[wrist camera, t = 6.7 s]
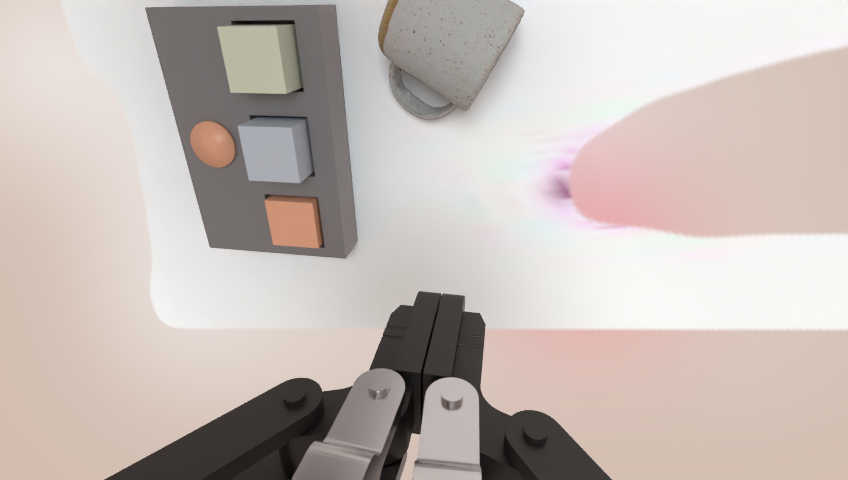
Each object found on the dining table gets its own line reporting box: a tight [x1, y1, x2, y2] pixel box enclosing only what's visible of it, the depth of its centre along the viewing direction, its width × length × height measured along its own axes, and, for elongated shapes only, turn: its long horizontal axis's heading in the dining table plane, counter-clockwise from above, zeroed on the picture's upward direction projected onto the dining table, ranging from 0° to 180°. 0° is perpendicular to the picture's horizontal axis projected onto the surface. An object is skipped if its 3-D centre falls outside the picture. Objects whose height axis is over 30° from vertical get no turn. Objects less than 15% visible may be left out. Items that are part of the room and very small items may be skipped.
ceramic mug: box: [378, 0, 524, 120], centre depth 32 cm, size 11×8×8 cm
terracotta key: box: [264, 195, 324, 248], centre depth 42 cm, size 4×4×3 cm
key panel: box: [145, 5, 357, 258], centre depth 39 cm, size 21×14×4 cm, turn 1°
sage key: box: [217, 24, 303, 94], centre depth 34 cm, size 4×4×3 cm
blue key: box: [238, 117, 314, 183], centre depth 37 cm, size 4×4×3 cm
